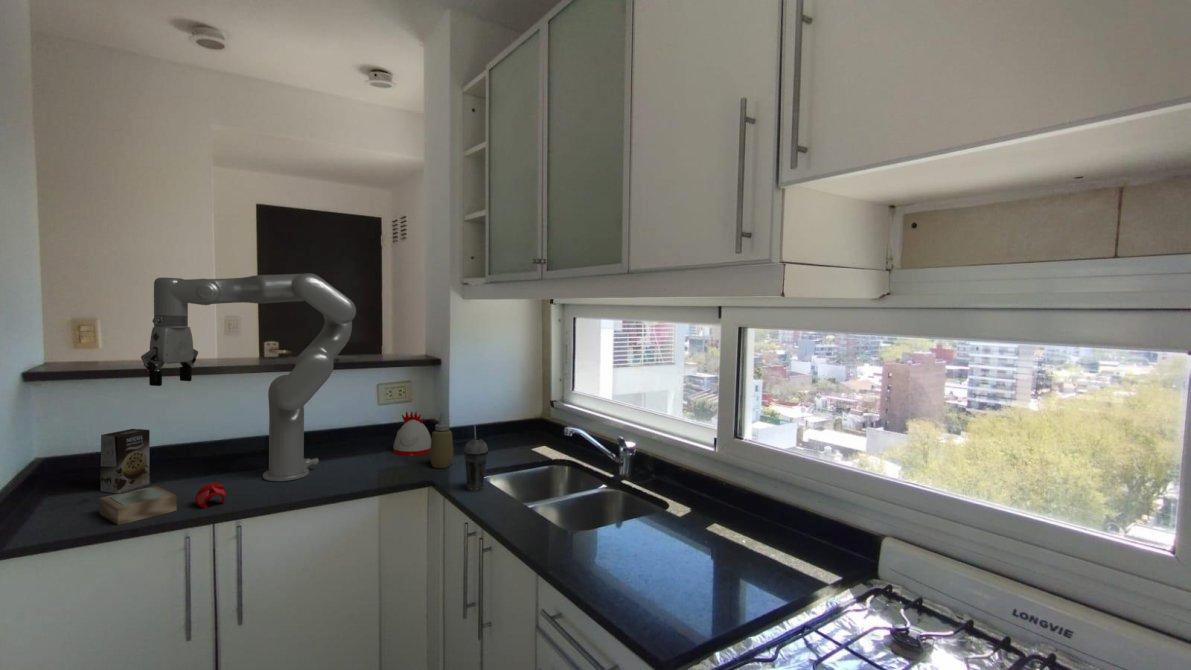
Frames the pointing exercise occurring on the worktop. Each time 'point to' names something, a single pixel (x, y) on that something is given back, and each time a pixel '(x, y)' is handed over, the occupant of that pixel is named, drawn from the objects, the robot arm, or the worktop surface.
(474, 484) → the beverage cup
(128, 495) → the pedestal
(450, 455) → the squeeze bottle
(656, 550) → the worktop surface
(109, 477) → the coffee box
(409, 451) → the kitchen timer
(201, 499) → the red bell pepper
